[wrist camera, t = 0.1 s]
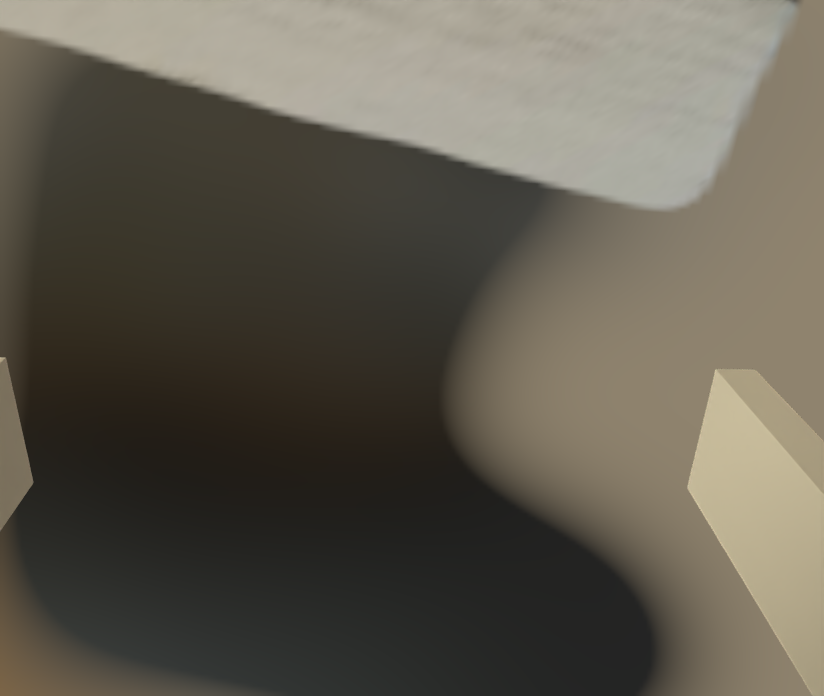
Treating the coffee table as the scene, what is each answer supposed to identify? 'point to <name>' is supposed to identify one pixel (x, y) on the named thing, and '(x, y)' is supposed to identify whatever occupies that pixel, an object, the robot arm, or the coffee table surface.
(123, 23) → the coffee table surface
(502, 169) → the coffee table surface
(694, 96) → the coffee table surface
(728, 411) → the robot arm
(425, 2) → the coffee table surface
